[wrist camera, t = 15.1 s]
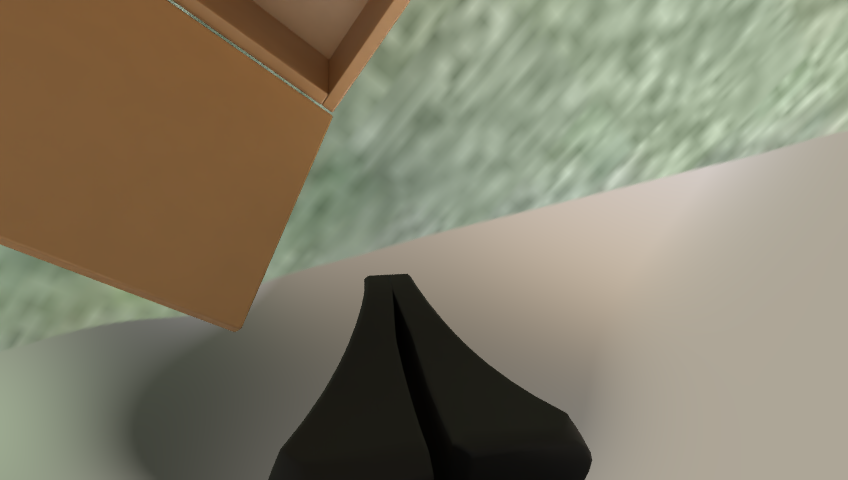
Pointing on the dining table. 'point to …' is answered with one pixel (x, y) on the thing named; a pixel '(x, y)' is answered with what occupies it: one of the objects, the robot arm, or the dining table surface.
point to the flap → (147, 152)
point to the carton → (305, 37)
